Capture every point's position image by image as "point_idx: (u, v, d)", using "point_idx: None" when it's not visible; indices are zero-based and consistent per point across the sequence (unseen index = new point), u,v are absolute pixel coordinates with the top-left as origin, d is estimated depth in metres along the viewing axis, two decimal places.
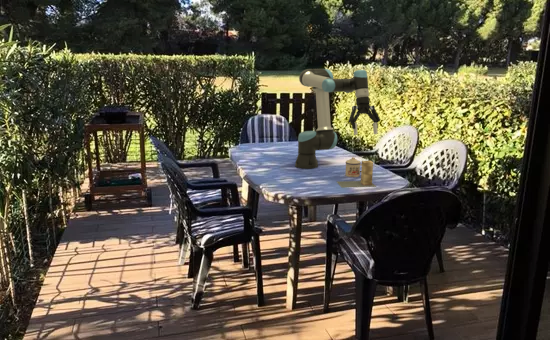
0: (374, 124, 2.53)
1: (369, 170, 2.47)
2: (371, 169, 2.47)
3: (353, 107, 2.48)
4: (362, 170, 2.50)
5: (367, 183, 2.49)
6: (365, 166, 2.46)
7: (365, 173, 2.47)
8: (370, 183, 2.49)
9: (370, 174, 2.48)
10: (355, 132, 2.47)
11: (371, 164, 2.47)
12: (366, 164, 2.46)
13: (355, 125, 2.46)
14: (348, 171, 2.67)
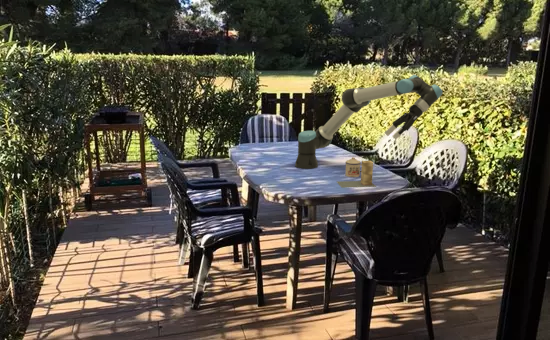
0: (393, 127, 2.52)
1: (369, 170, 2.47)
2: (371, 169, 2.47)
3: (415, 117, 2.39)
4: (362, 170, 2.50)
5: (367, 183, 2.49)
6: (365, 166, 2.46)
7: (365, 173, 2.47)
8: (370, 183, 2.49)
9: (370, 174, 2.48)
10: (396, 136, 2.40)
11: (371, 164, 2.47)
12: (366, 164, 2.46)
13: (402, 132, 2.40)
14: (348, 171, 2.67)
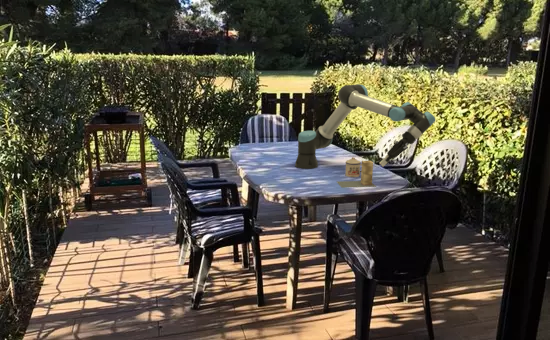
0: None
1: (369, 170, 2.47)
2: (371, 169, 2.47)
3: (405, 147, 2.42)
4: (362, 170, 2.50)
5: (367, 183, 2.49)
6: (365, 166, 2.46)
7: (365, 173, 2.47)
8: (370, 183, 2.49)
9: (370, 174, 2.48)
10: (383, 164, 2.49)
11: (371, 164, 2.47)
12: (366, 164, 2.46)
13: (389, 160, 2.49)
14: (348, 171, 2.67)
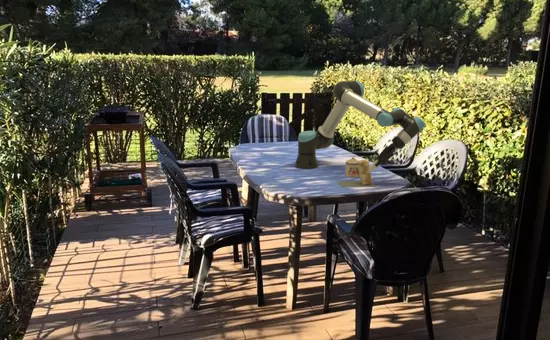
0: None
1: (366, 169, 2.47)
2: (368, 168, 2.47)
3: (394, 152, 2.42)
4: (359, 170, 2.50)
5: (367, 182, 2.49)
6: (361, 166, 2.46)
7: (363, 173, 2.47)
8: (370, 182, 2.49)
9: (368, 173, 2.48)
10: (373, 169, 2.48)
11: (367, 163, 2.46)
12: (362, 164, 2.46)
13: (378, 164, 2.48)
14: (348, 171, 2.67)
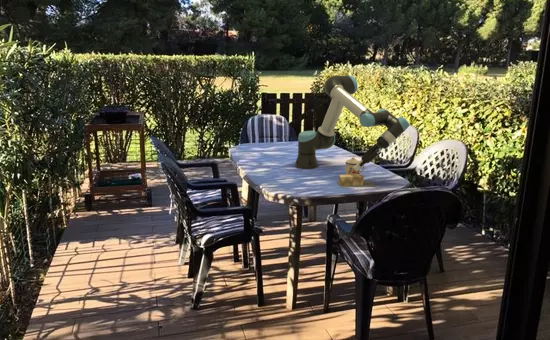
0: None
1: (348, 180, 2.47)
2: (347, 178, 2.47)
3: (378, 152, 2.42)
4: None
5: (361, 181, 2.48)
6: (344, 184, 2.48)
7: (351, 183, 2.48)
8: (362, 178, 2.48)
9: (352, 178, 2.47)
10: (357, 168, 2.48)
11: (342, 178, 2.47)
12: (342, 183, 2.47)
13: (363, 164, 2.48)
14: (348, 171, 2.67)
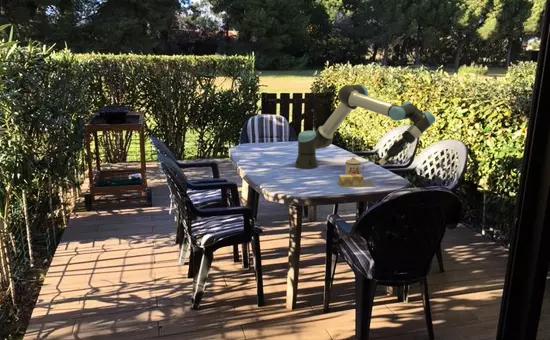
0: None
1: (348, 180, 2.47)
2: (347, 178, 2.47)
3: (404, 147, 2.42)
4: None
5: (361, 181, 2.48)
6: (344, 184, 2.48)
7: (351, 183, 2.48)
8: (362, 178, 2.48)
9: (352, 178, 2.47)
10: (382, 163, 2.49)
11: (342, 178, 2.47)
12: (342, 183, 2.47)
13: None
14: (348, 171, 2.67)
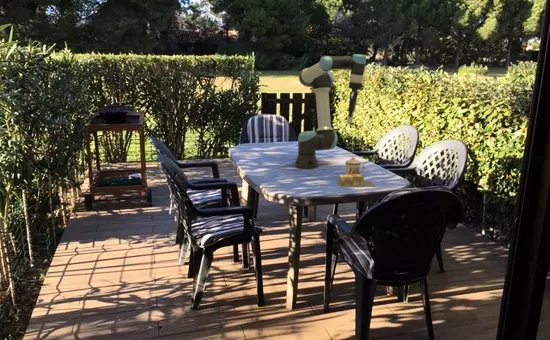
0: None
1: (348, 180, 2.47)
2: (347, 178, 2.47)
3: (352, 97, 2.50)
4: None
5: (361, 181, 2.48)
6: (344, 184, 2.48)
7: (351, 183, 2.48)
8: (362, 178, 2.48)
9: (352, 178, 2.47)
10: (350, 120, 2.59)
11: (342, 178, 2.47)
12: (342, 183, 2.47)
13: (352, 114, 2.58)
14: (348, 171, 2.67)
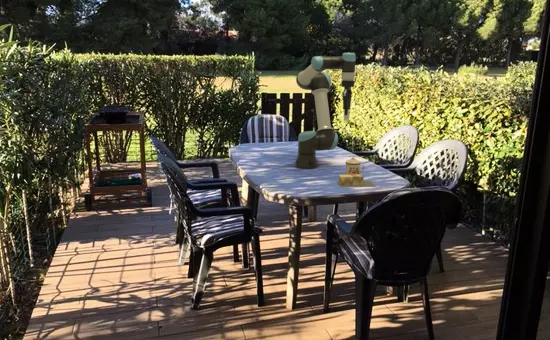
0: None
1: (348, 180, 2.47)
2: (347, 178, 2.47)
3: (345, 94, 2.54)
4: None
5: (361, 181, 2.48)
6: (344, 184, 2.48)
7: (351, 183, 2.48)
8: (362, 178, 2.48)
9: (352, 178, 2.47)
10: (346, 118, 2.62)
11: (342, 178, 2.47)
12: (342, 183, 2.47)
13: (348, 112, 2.61)
14: (348, 171, 2.67)
